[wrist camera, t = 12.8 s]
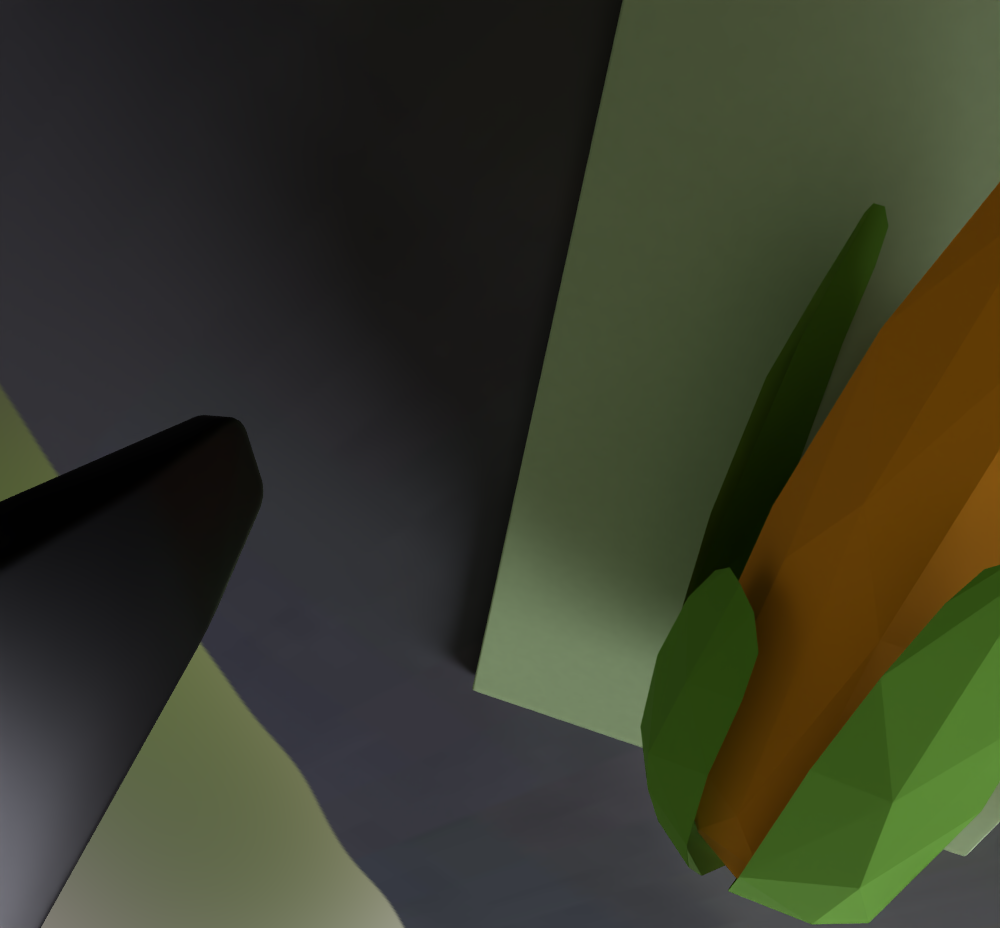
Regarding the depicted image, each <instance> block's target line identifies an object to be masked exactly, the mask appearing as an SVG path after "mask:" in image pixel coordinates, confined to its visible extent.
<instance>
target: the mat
mask: <svg viewBox="0 0 1000 928" xmlns="http://www.w3.org/2000/svg"><path fill="white" fill-rule="evenodd" d="M999 182H1000V0H623V1H622V5H621V10H620V15H619V19H618V24H617V28H616V33H615V38H614V42H613V47H612V51H611V56H610V60H609V65H608V70H607V74H606V79H605V83H604V88H603V93H602V97H601V102H600V106H599V111H598V115H597V120H596V125H595V129H594V134H593V138H592V143H591V148H590V152H589V157H588V161H587V166H586V170H585V175H584V180H583V184H582V189H581V193H580V198H579V203H578V207H577V212H576V216H575V221H574V225H573V230H572V235H571V239H570V244H569V248H568V253H567V258H566V262H565V267H564V271H563V276H562V280H561V285H560V290H559V294H558V299H557V303H556V308H555V313H554V317H553V322H552V326H551V331H550V335H549V340H548V345H547V349H546V354H545V358H544V363H543V368H542V372H541V377H540V381H539V386H538V390H537V395H536V400H535V404H534V409H533V413H532V418H531V423H530V427H529V432H528V436H527V441H526V445H525V450H524V455H523V459H522V464H521V468H520V473H519V478H518V482H517V487H516V491H515V496H514V500H513V505H512V510H511V514H510V519H509V523H508V528H507V533H506V537H505V542H504V546H503V551H502V555H501V560H500V565H499V569H498V574H497V578H496V583H495V588H494V592H493V597H492V601H491V606H490V610H489V615H488V620H487V624H486V629H485V633H484V638H483V643H482V647H481V652H480V656H479V661H478V665H477V670H476V675H475V679H474V684H473V690H474V691H477V692H480V693H483V694H486V695H489V696H492V697H495V698H498V699H501V700H504V701H507V702H510V703H512V704H515V705H518V706H521V707H524V708H527V709H530V710H533V711H536V712H539V713H542V714H545V715H548V716H551V717H554V718H557V719H560V720H563V721H566V722H569V723H572V724H575V725H577V726H580V727H583V728H586V729H589V730H592V731H595V732H598V733H601V734H604V735H607V736H610V737H613V738H616V739H619V740H622V741H625V742H628V743H631V744H634V745H637V746H640V747H643V745H642V737H641V729H640V726H641V722H642V717H643V713H644V709H645V705H646V701H647V696H648V692H649V688H650V684H651V680H652V675H653V671H654V667H655V663H656V659H657V654H658V652H659V651H660V649H661V647H662V645H663V643H664V641H665V639H666V638H667V636H668V634H669V632H670V630H671V628H672V626H673V625H674V623H675V621H676V619H677V617H678V615H679V613H680V612H681V610H682V606H683V603H684V600H685V596H686V593H687V590H688V587H689V583H690V580H691V577H692V573H693V570H694V567H695V563H696V560H697V557H698V553H699V550H700V547H701V544H702V540H703V537H704V534H705V530H706V527H707V524H708V520H709V517H710V514H711V511H712V509H713V506H714V504H715V501H716V499H717V496H718V494H719V491H720V489H721V487H722V484H723V482H724V479H725V477H726V474H727V472H728V469H729V467H730V464H731V462H732V460H733V457H734V455H735V452H736V450H737V447H738V445H739V442H740V440H741V437H742V435H743V433H744V430H745V428H746V425H747V423H748V420H749V418H750V415H751V413H752V410H753V408H754V406H755V403H756V401H757V398H758V396H759V393H760V391H761V388H762V386H763V383H764V381H765V379H766V376H767V375H768V373H769V371H770V370H771V368H772V366H773V364H774V363H775V361H776V359H777V358H778V356H779V354H780V352H781V351H782V349H783V347H784V346H785V344H786V342H787V340H788V339H789V337H790V335H791V334H792V332H793V330H794V328H795V327H796V325H797V323H798V322H799V320H800V318H801V316H802V315H803V313H804V311H805V310H806V308H807V306H808V304H809V303H810V301H811V299H812V298H813V296H814V294H815V292H816V291H817V289H818V287H819V286H820V284H821V282H822V281H823V279H824V278H825V276H826V274H827V273H828V271H829V269H830V268H831V266H832V265H833V263H834V261H835V260H836V258H837V256H838V255H839V253H840V251H841V250H842V248H843V247H844V245H845V243H846V242H847V240H848V238H849V237H850V235H851V234H852V232H853V230H854V229H855V227H856V225H857V224H858V222H859V221H860V219H861V217H862V216H863V214H864V212H865V211H866V210H867V209H868V208H869V207H870V206H871V205H872V204H873V203H875V204H879V205H882V206H885V210H886V215H887V221H888V230H887V233H886V236H885V239H884V242H883V245H882V248H881V251H880V254H879V257H878V260H877V263H876V266H875V268H874V270H873V273H872V275H871V278H870V280H869V282H868V285H867V287H866V289H865V292H864V294H863V297H862V299H861V301H860V304H859V306H858V308H857V311H856V313H855V316H854V318H853V320H852V323H851V325H850V327H849V330H848V332H847V334H846V337H845V339H844V342H843V344H842V347H841V349H840V352H839V355H838V358H837V360H836V363H835V366H834V368H833V371H832V374H831V377H830V379H829V382H828V385H827V387H826V390H825V393H824V396H823V398H822V401H821V404H820V406H819V409H818V412H817V415H816V417H815V420H814V423H813V426H812V428H811V431H810V434H809V436H808V439H807V442H806V445H805V447H804V450H803V453H802V455H801V458H800V460H801V459H802V457H803V455H804V454H805V452H806V450H807V449H808V447H809V446H810V444H811V442H812V441H813V439H814V437H815V436H816V434H817V432H818V431H819V429H820V428H821V426H822V424H823V423H824V421H825V419H826V418H827V416H828V414H829V413H830V411H831V410H832V408H833V406H834V405H835V403H836V401H837V400H838V398H839V396H840V395H841V393H842V392H843V390H844V388H845V387H846V385H847V383H848V382H849V380H850V378H851V377H852V375H853V374H854V372H855V370H856V369H857V367H858V365H859V364H860V362H861V360H862V359H863V357H864V356H865V354H866V352H867V351H868V349H869V347H870V346H871V344H872V342H873V341H874V339H875V338H876V336H877V334H878V333H879V331H880V329H881V328H882V327H883V325H884V324H885V323H886V322H887V321H888V319H889V318H890V317H891V316H892V314H893V313H894V312H895V311H896V309H897V308H898V307H899V306H900V304H901V303H902V302H903V301H904V300H905V298H906V297H907V296H908V295H909V293H910V292H911V291H912V290H913V288H914V287H915V286H916V285H917V283H918V282H919V281H920V280H921V279H922V277H923V276H924V275H925V274H926V272H927V271H928V270H929V269H930V267H931V266H932V265H933V264H934V262H935V261H936V260H937V259H938V258H939V256H940V255H941V254H942V253H943V251H944V250H945V249H946V248H947V246H948V245H949V244H950V243H951V241H952V240H953V239H954V238H955V236H956V235H957V234H958V233H959V232H960V230H961V229H962V228H963V227H964V225H965V224H966V223H967V222H968V220H969V219H970V218H971V217H972V215H973V214H974V213H975V212H976V211H977V209H978V208H979V207H980V206H981V204H982V203H983V202H984V201H985V199H986V198H987V197H988V196H989V194H990V193H991V192H992V191H993V190H994V188H995V187H996V186H997V185H998V183H999ZM799 462H800V461H799ZM999 822H1000V782H999V784H998V785H997V787H996V789H995V790H994V792H993V793H992V795H991V797H990V798H989V800H988V802H987V803H986V805H985V806H984V808H983V810H982V811H981V812H980V813H979V814H978V815H977V816H976V817H975V818H974V819H973V820H972V821H971V822H970V823H969V824H968V825H967V826H966V827H965V828H964V829H963V830H962V831H961V832H960V833H959V834H958V835H957V836H956V837H955V838H954V839H953V840H952V841H951V842H950V843H949V844H948V845H947V846H946V847H945V848H944V850H947V851H950V852H953V853H956V854H959V855H962V856H966V855H967V854H968V853H969V852H970V851H971V850H972V849H973V848H974V847H975V846H976V845H977V844H978V843H979V842H980V841H981V840H982V839H983V838H984V837H985V836H986V835H987V834H988V833H989V832H990V831H991V830H992V829H993V828H994V827H995V826H996V825H997V824H998V823H999Z"/></svg>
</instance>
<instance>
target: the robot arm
mask: <svg viewBox="0 0 1000 928" xmlns="http://www.w3.org/2000/svg"><path fill="white" fill-rule="evenodd" d="M262 498H263V483H262V479H261V476H260V473H259V470H258V466H257V463H256V460H255V457H254V454H253V451H252V448H251V444H250V441H249V438H248V435H247V432H246V430H245V427H244V426H243V425H242V423H241V422H240V421H239V420H237V419H235V418H233V417H222V416H210V415H201V416H196V417H194V418H191V419H189V420H187V421H185V422H182V423H180V424H178V425H175V426H173V427H171V428H168V429H166V430H164V431H162V432H159V433H157V434H155V435H152V436H150V437H148V438H145V439H143V440H141V441H139V442H136V443H134V444H132V445H129V446H127V447H125V448H123V449H120V450H118V451H116V452H113V453H111V454H109V455H106V456H104V457H102V458H100V459H97V460H95V461H93V462H90V463H88V464H86V465H83V466H81V467H79V468H77V469H74V470H72V471H70V472H67V473H65V474H63V475H61V476H58V477H56V478H54V479H51V480H49V481H47V482H45V483H42V484H40V485H38V486H35V487H33V488H31V489H28V490H26V491H24V492H21V493H19V494H17V495H15V496H12V497H10V498H8V499H5V500H3V501H1V502H0V928H41V926H42V925H43V923H44V921H45V919H46V917H47V916H48V914H49V912H50V910H51V908H52V907H53V905H54V903H55V901H56V900H57V898H58V896H59V894H60V892H61V891H62V889H63V887H64V885H65V884H66V882H67V880H68V878H69V876H70V875H71V873H72V871H73V869H74V867H75V866H76V864H77V862H78V860H79V858H80V857H81V855H82V853H83V851H84V849H85V848H86V846H87V844H88V842H89V841H90V839H91V837H92V835H93V833H94V832H95V830H96V828H97V826H98V825H99V823H100V821H101V819H102V817H103V816H104V814H105V812H106V810H107V808H108V807H109V805H110V803H111V801H112V800H113V798H114V796H115V794H116V792H117V791H118V789H119V787H120V785H121V783H122V782H123V780H124V778H125V776H126V775H127V773H128V771H129V769H130V767H131V766H132V764H133V762H134V760H135V758H136V757H137V755H138V753H139V751H140V750H141V748H142V746H143V744H144V742H145V741H146V739H147V737H148V735H149V733H150V732H151V730H152V728H153V726H154V725H155V723H156V721H157V719H158V717H159V716H160V714H161V712H162V710H163V708H164V706H165V705H166V703H167V701H168V700H169V698H170V696H171V694H172V692H173V691H174V689H175V687H176V685H177V683H178V681H179V680H180V678H181V676H182V675H183V673H184V671H185V669H186V667H187V666H188V664H189V662H190V660H191V658H192V657H193V655H194V653H195V651H196V649H197V648H198V646H199V644H200V642H201V640H202V638H203V636H204V634H205V632H206V631H207V629H208V627H209V624H210V622H211V620H212V618H213V616H214V614H215V612H216V609H217V607H218V605H219V603H220V600H221V598H222V596H223V593H224V591H225V589H226V586H227V584H228V582H229V579H230V577H231V575H232V572H233V570H234V568H235V565H236V563H237V561H238V558H239V556H240V554H241V551H242V549H243V547H244V544H245V542H246V540H247V537H248V535H249V533H250V530H251V528H252V526H253V523H254V521H255V519H256V516H257V514H258V512H259V509H260V506H261V503H262Z"/></svg>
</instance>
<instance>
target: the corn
mask: <svg viewBox="0 0 1000 928" xmlns="http://www.w3.org/2000/svg"><path fill="white" fill-rule="evenodd" d="M887 230H888V221H887V215H886V210H885V206H882V205H879V204H875V203H873V204H872V205H871V206H870V207H869V208H868V209H867V210H866V211H865V212H864V214H863V216H862V217H861V219H860V221H859V222H858V224H857V225H856V227H855V229H854V230H853V232H852V234H851V235H850V237H849V238H848V240H847V242H846V243H845V245H844V247H843V248H842V250H841V251H840V253H839V255H838V256H837V258H836V260H835V261H834V263H833V265H832V266H831V268H830V269H829V271H828V273H827V274H826V276H825V278H824V279H823V281H822V282H821V284H820V286H819V287H818V289H817V291H816V292H815V294H814V296H813V298H812V299H811V301H810V303H809V304H808V306H807V308H806V310H805V311H804V313H803V315H802V316H801V318H800V320H799V322H798V323H797V325H796V327H795V328H794V330H793V332H792V334H791V335H790V337H789V339H788V340H787V342H786V344H785V346H784V347H783V349H782V351H781V352H780V354H779V356H778V358H777V359H776V361H775V363H774V364H773V366H772V368H771V370H770V371H769V373H768V375H767V376H766V379H765V381H764V383H763V386H762V388H761V391H760V393H759V396H758V398H757V401H756V403H755V406H754V408H753V410H752V413H751V415H750V418H749V420H748V423H747V425H746V428H745V430H744V433H743V435H742V437H741V440H740V442H739V445H738V447H737V450H736V452H735V455H734V457H733V460H732V462H731V464H730V467H729V469H728V472H727V474H726V477H725V479H724V482H723V484H722V487H721V489H720V491H719V494H718V496H717V499H716V501H715V504H714V506H713V509H712V511H711V514H710V517H709V520H708V524H707V527H706V530H705V534H704V537H703V540H702V544H701V547H700V550H699V553H698V557H697V560H696V563H695V567H694V570H693V573H692V577H691V580H690V583H689V587H688V590H687V593H686V596H685V600H684V603H683V606H682V610H681V612H680V613H679V615H678V617H677V619H676V621H675V623H674V625H673V626H672V628H671V630H670V632H669V634H668V636H667V638H666V639H665V641H664V643H663V645H662V647H661V649H660V651H659V652H658V654H657V659H656V663H655V667H654V671H653V675H652V680H651V684H650V688H649V692H648V696H647V701H646V705H645V709H644V713H643V717H642V722H641V726H640V729H641V737H642V745H643V753H644V761H645V769H646V777H647V785H648V791H649V794H650V797H651V800H652V803H653V806H654V809H655V812H656V816H657V819H658V821H659V823H660V824H661V826H662V827H663V829H664V830H665V832H666V833H667V835H668V836H669V838H670V839H671V841H672V843H673V844H674V846H675V847H676V849H677V850H678V852H679V853H680V855H681V856H682V858H683V859H684V861H685V862H686V864H687V865H688V867H689V868H691V869H692V870H694V871H695V872H697V873H698V874H700V875H701V876H702V875H704V874H707V873H709V872H711V871H713V870H716V869H718V868H720V867H722V866H725V865H726V866H727V868H728V869H729V870H730V871H731V872H732V874H733V875H734V876H735V877H736V879H735V881H734V882H733V884H732V885H731V886H730V888H729V890H728V891H729V892H732V893H734V894H737V895H739V896H742V897H744V898H747V899H749V900H752V901H754V902H757V903H759V904H762V905H764V906H767V907H769V908H772V909H774V910H777V911H779V912H782V913H785V914H787V915H790V916H792V917H795V918H797V919H800V920H802V921H805V922H807V923H810V924H847V923H869V922H870V921H871V920H872V919H873V918H874V917H875V916H876V915H877V914H878V913H879V912H881V911H882V910H883V909H884V908H885V907H886V906H887V905H888V904H889V903H890V902H891V901H892V900H893V899H894V898H895V897H896V896H897V895H898V894H899V893H900V892H901V891H902V890H903V889H904V888H905V887H906V886H907V885H908V884H909V883H910V882H911V881H912V880H913V879H914V878H915V877H916V876H917V875H918V874H919V873H920V872H921V871H922V870H923V869H924V868H925V867H926V866H927V865H928V864H929V863H930V862H931V861H932V860H933V859H934V858H935V857H936V856H937V855H938V854H939V853H940V852H941V851H942V850H943V849H944V848H945V847H946V846H947V845H948V844H949V843H950V842H951V841H952V840H953V839H954V838H955V837H956V836H957V835H958V834H959V833H960V832H961V831H962V830H963V829H964V828H965V827H966V826H967V825H968V824H969V823H970V822H971V821H972V820H973V819H974V818H975V817H976V816H977V815H978V814H979V813H980V812H981V811H982V810H983V808H984V806H985V805H986V803H987V802H988V800H989V798H990V797H991V795H992V793H993V792H994V790H995V789H996V787H997V785H998V784H999V782H1000V182H999V183H998V185H997V186H996V187H995V188H994V190H993V191H992V192H991V193H990V194H989V196H988V197H987V198H986V199H985V201H984V202H983V203H982V204H981V206H980V207H979V208H978V209H977V211H976V212H975V213H974V214H973V215H972V217H971V218H970V219H969V220H968V222H967V223H966V224H965V225H964V227H963V228H962V229H961V230H960V232H959V233H958V234H957V235H956V236H955V238H954V239H953V240H952V241H951V243H950V244H949V245H948V246H947V248H946V249H945V250H944V251H943V253H942V254H941V255H940V256H939V258H938V259H937V260H936V261H935V262H934V264H933V265H932V266H931V267H930V269H929V270H928V271H927V272H926V274H925V275H924V276H923V277H922V279H921V280H920V281H919V282H918V283H917V285H916V286H915V287H914V288H913V290H912V291H911V292H910V293H909V295H908V296H907V297H906V298H905V300H904V301H903V302H902V303H901V304H900V306H899V307H898V308H897V309H896V311H895V312H894V313H893V314H892V316H891V317H890V318H889V319H888V321H887V322H886V323H885V324H884V325H883V327H882V328H881V329H880V331H879V333H878V334H877V336H876V338H875V339H874V341H873V342H872V344H871V346H870V347H869V349H868V351H867V352H866V354H865V356H864V357H863V359H862V360H861V362H860V364H859V365H858V367H857V369H856V370H855V372H854V374H853V375H852V377H851V378H850V380H849V382H848V383H847V385H846V387H845V388H844V390H843V392H842V393H841V395H840V396H839V398H838V400H837V401H836V403H835V405H834V406H833V408H832V410H831V411H830V413H829V414H828V416H827V418H826V419H825V421H824V423H823V424H822V426H821V428H820V429H819V431H818V432H817V434H816V436H815V437H814V439H813V441H812V442H811V444H810V446H809V447H808V449H807V450H806V452H805V454H804V455H803V457H802V459H801V460H800V458H801V455H802V453H803V450H804V447H805V445H806V442H807V439H808V436H809V434H810V431H811V428H812V426H813V423H814V420H815V417H816V415H817V412H818V409H819V406H820V404H821V401H822V398H823V396H824V393H825V390H826V387H827V385H828V382H829V379H830V377H831V374H832V371H833V368H834V366H835V363H836V360H837V358H838V355H839V352H840V349H841V347H842V344H843V342H844V339H845V337H846V334H847V332H848V330H849V327H850V325H851V323H852V320H853V318H854V316H855V313H856V311H857V308H858V306H859V304H860V301H861V299H862V297H863V294H864V292H865V289H866V287H867V285H868V282H869V280H870V278H871V275H872V273H873V270H874V268H875V266H876V263H877V260H878V257H879V254H880V251H881V248H882V245H883V242H884V239H885V236H886V233H887ZM799 461H800V462H799Z"/></svg>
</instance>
